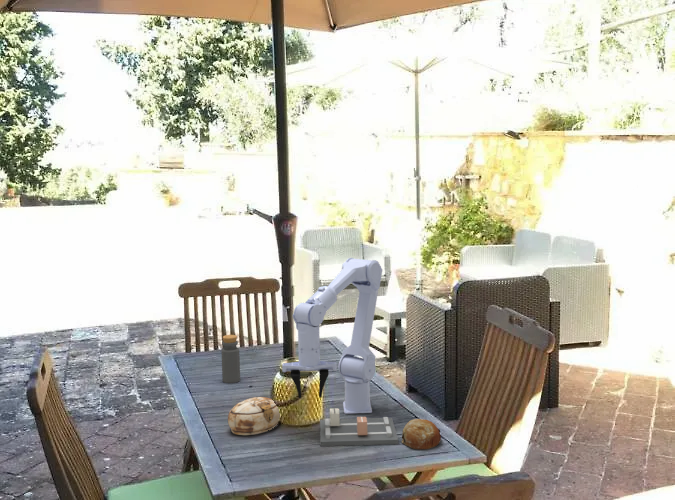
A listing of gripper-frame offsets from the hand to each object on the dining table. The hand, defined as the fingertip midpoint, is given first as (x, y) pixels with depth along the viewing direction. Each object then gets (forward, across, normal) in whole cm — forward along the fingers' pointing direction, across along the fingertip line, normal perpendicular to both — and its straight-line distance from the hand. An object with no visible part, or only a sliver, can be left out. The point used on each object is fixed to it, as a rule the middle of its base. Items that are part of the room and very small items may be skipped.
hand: (310, 396), depth 207 cm
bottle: (+10, -26, +46) cm, 54 cm away
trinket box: (+10, -15, +4) cm, 19 cm away
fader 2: (+8, +13, -7) cm, 17 cm away
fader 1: (+8, +6, 0) cm, 10 cm away
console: (+9, +12, -4) cm, 16 cm away
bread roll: (+10, +29, -10) cm, 32 cm away
